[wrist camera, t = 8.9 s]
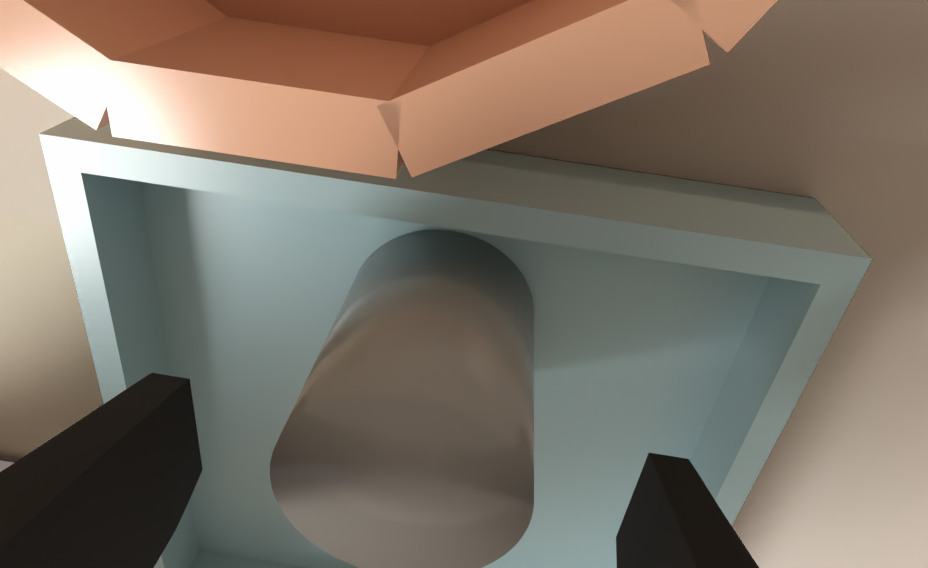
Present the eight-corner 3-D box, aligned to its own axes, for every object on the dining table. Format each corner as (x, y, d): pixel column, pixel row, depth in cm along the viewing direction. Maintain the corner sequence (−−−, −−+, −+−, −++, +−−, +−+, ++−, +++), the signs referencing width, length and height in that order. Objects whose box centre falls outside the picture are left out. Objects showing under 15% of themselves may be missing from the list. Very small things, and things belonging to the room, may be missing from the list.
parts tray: (193, 536, 20) (153, 611, 18) (121, 95, 13) (38, 133, 11) (632, 607, 20) (643, 692, 18) (814, 198, 12) (872, 259, 10)
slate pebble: (349, 369, 15) (274, 556, 11) (353, 216, 13) (263, 372, 9) (517, 395, 15) (510, 595, 11) (550, 245, 13) (558, 418, 8)
